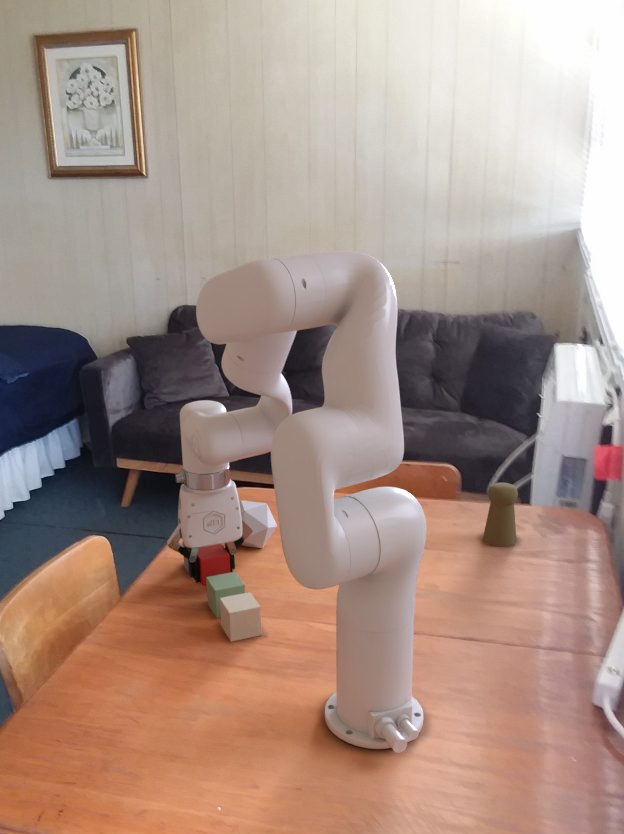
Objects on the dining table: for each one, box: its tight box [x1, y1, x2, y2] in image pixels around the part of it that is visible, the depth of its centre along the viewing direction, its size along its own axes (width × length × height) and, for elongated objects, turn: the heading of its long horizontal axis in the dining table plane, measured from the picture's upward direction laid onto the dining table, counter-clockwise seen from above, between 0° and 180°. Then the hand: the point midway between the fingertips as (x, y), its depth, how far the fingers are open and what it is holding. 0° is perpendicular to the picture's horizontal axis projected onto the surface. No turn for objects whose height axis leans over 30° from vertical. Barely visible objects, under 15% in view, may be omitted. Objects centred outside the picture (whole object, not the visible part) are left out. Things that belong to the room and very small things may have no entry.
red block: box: [197, 544, 230, 587], centre depth 142 cm, size 5×5×5 cm
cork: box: [482, 482, 519, 548], centre depth 155 cm, size 6×6×11 cm
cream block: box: [220, 591, 263, 643], centre depth 129 cm, size 5×5×5 cm
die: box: [239, 499, 278, 549], centre depth 158 cm, size 8×9×10 cm
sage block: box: [206, 571, 246, 619], centre depth 136 cm, size 5×5×5 cm
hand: (212, 575), depth 143 cm, fingers closed on red block, 5 cm apart
